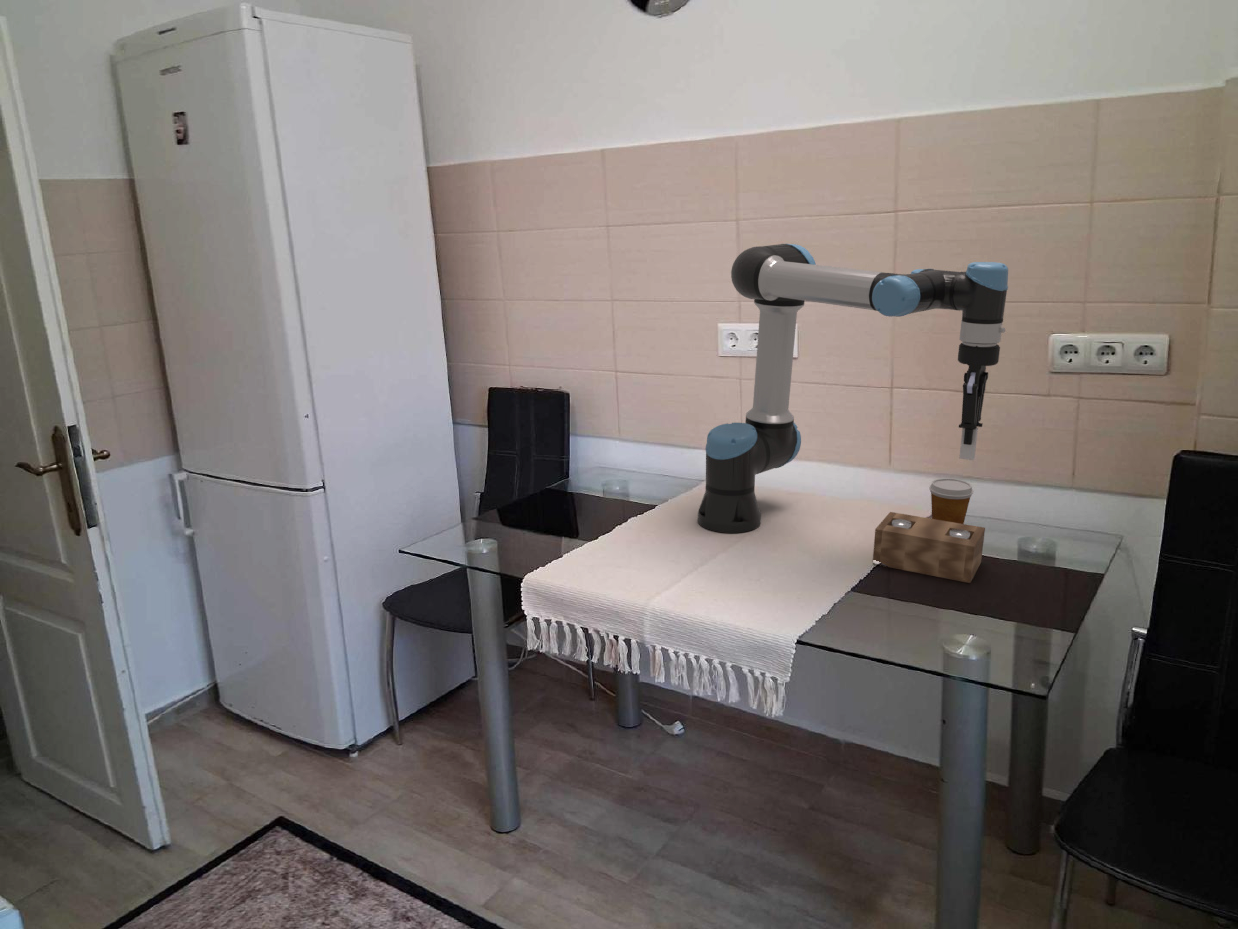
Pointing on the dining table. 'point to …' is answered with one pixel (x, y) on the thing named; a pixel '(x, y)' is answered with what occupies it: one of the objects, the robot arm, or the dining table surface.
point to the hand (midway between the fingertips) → (966, 458)
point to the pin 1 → (901, 523)
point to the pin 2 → (960, 533)
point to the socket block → (929, 547)
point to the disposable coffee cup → (950, 499)
